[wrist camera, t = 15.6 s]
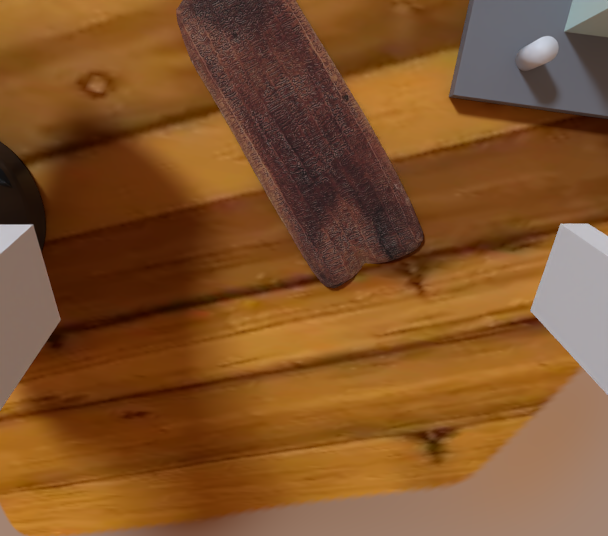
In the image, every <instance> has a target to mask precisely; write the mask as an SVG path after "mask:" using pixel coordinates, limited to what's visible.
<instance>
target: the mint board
mask: <svg viewBox="0 0 608 536" xmlns="http://www.w3.org/2000/svg"><path fill="white" fill-rule="evenodd" d="M564 32H570V33H578V34H586V35H593V36H601V37H608V0H573V1H572V4H571V8H570V12H569V15H568V19H567V23H566V26H565V30H564Z"/></svg>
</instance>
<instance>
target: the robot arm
mask: <svg viewBox="0 0 608 536" xmlns="http://www.w3.org/2000/svg"><path fill="white" fill-rule="evenodd" d="M45 230H46V223H45V213H44V207H43V203H42V199H41V196H40V194H39V191H38V189H37V186H36V184H35V182H34V180H33V178H32V177H31V175H30V173H29V172H28V170H27V169H26V167H25V166H24V165H23V163H22V162H21V161H20V160H19V158H18V157H17V156H16V155H15V154H14V153H13V152H12V151H11V150H10V149H9V148H8V147H6V146H5V145H4V144H3V143H1V142H0V410H1V409H2V407H3V406H4V404H5V403H6V401H7V400H8V398H9V397H10V395H11V394H12V392H13V391H14V389H15V388H16V386H17V385H18V383H19V382H20V380H21V379H22V377H23V376H24V374H25V373H26V371H27V370H28V368H29V367H30V365H31V364H32V362H33V361H34V359H35V358H36V356H37V355H38V353H39V352H40V350H41V349H42V347H43V346H44V344H45V343H46V341H47V340H48V338H49V337H50V335H51V334H52V332H53V331H54V329H55V328H56V326H57V325H58V323H59V322H60V320H61V319H60V315H59V312H58V308H57V305H56V302H55V298H54V295H53V291H52V288H51V284H50V281H49V277H48V274H47V270H46V267H45V264H44V260H43V257H42V253H41V251H42V248H43V244H44V239H45ZM530 311H531V312H532V313H533V314H534V315H535V316H536V317H537V318H538V320H539V321H540V322H541V323H542V324H543V325H544V326H545V327H546V328H547V329H548V330H549V332H550V333H551V334H552V335H553V336H554V337H555V338H556V339H557V340H558V341H559V342H560V344H561V345H562V346H563V347H564V348H565V349H566V350H567V351H568V352H569V353H570V354H571V356H572V357H573V358H574V359H575V360H576V361H577V362H578V363H579V364H580V365H581V366H582V368H583V369H584V370H585V371H586V372H587V373H588V374H589V375H590V376H591V377H592V378H593V380H594V381H595V382H596V383H597V384H598V385H599V386H600V387H601V388H602V389H603V390H604V391H605V393H606V394H607V395H608V236H607V235H605V234H604V233H602V232H600V231H599V230H597V229H596V228H594V227H592V226H591V225H589V224H560V227H559V229H558V232H557V235H556V238H555V241H554V244H553V247H552V250H551V253H550V255H549V258H548V261H547V264H546V267H545V270H544V273H543V276H542V279H541V281H540V284H539V287H538V290H537V293H536V296H535V299H534V302H533V304H532V307H531V310H530Z"/></svg>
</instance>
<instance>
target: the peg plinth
mask: <svg viewBox="0 0 608 536" xmlns="http://www.w3.org/2000/svg"><path fill="white" fill-rule="evenodd" d="M572 1H573V0H470V2H469V6H468V11H467V16H466V20H465V25H464V29H463V34H462V39H461V43H460V48H459V53H458V57H457V62H456V66H455V71H454V76H453V80H452V85H451V90H450V94H449V97H452V98H459V99H466V100H474V101H481V102H488V103H495V104H503V105H510V106H517V107H524V108H532V109H539V110H546V111H553V112H561V113H568V114H575V115H582V116H590V117H597V118H604V119H608V37H601V36H593V35H586V34H578V33H570V32H564V30H565V26H566V23H567V19H568V15H569V12H570V8H571V4H572Z"/></svg>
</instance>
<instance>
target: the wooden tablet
mask: <svg viewBox="0 0 608 536" xmlns="http://www.w3.org/2000/svg"><path fill="white" fill-rule="evenodd" d="M177 21H178V25H179V27H180V30H181V33H182V37H183V39H184V43H185V45H186V48H187V51H188V54H189V56H190V59H191V61H192V63H193V65H194V66H195V68H196V70H197V72H198V74H199V76H200V77H201V79H202V80H203V82H204V84H205V85H206V87H207V89H208V90H209V92H210V93H211V95H212V97H213V99H214V101H215V102H216V104H217V106H218V108H219V109H220V111H221V113H222V115H223V116H224V118H225V120H226V122H227V123H228V125H229V127H230V128H231V130H232V132H233V134H234V135H235V137H236V139H237V141H238V143H239V144H240V146H241V148H242V150H243V152H244V154H245V156H246V158H247V159H248V161H249V163H250V165H251V167H252V168H253V170H254V172H255V174H256V176H257V177H258V179H259V181H260V183H261V184H262V186H263V188H264V190H265V192H266V194H267V196H268V197H269V199H270V201H271V202H272V204H273V206H274V207H275V209H276V211H277V213H278V215H279V216H280V218H281V220H282V221H283V223H284V224H285V226H286V228H287V229H288V231H289V233H290V235H291V236H292V238H293V240H294V242H295V243H296V245H297V247H298V248H299V250H300V251H301V253H302V255H303V257H304V259H305V260H306V261H307V263H308V265H309V266H310V268H311V270H312V271H313V272H314V274H315V275H316V276H317V278H318V279H319V280H320V281H321V282H322V283H323V284H324V285H325V286H326V287H331V288H336V287H338V286H340V285H342V284H343V283H345V282H346V281H348V280H349V279H351V278H352V277H353V276H354V275H355V274H357V273H358V272H359V270H360V269H361V267H362V265H363V264H364V263H373V264H374V263H383V262H388V261H391V260H395V259H398V258H400V257H403V256H405V255H407V254H409V253H411V252H413V251H414V250H416V249H417V248H418V247H419V246H420V245H421V242H422V240H423V231H422V229H421V226H420V224H419V222H418V219H417V217H416V214H415V212H414V209H413V207H412V204H411V202H410V200H409V198H408V196H407V194H406V192H405V190H404V188H403V186H402V184H401V182H400V180H399V178H398V175H397V173H396V172H395V170H394V168H393V166H392V164H391V162H390V160H389V158H388V156H387V155H386V152H385V151H384V149H383V147H382V146H381V144H380V142H379V140H378V138H377V136H376V135H375V133H374V131H373V129H372V128H371V126H370V124H369V122H368V120H367V118H366V117H365V115H364V113H363V112H362V110H361V108H360V107H359V105H358V103H357V102H356V100H355V99H354V97H353V95H352V93H351V92H350V90H349V89H348V87H347V85H346V84H345V82H344V80H343V78H342V76H341V75H340V73H339V71H338V70H337V68H336V66H335V65H334V63H333V61H332V60H331V58H330V57H329V55H328V53H327V52H326V50H325V48H324V47H323V45H322V43H321V42H320V40H319V39H318V37H317V35H316V34H315V32H314V30H313V29H312V27H311V25H310V23H309V22H308V20H307V19H306V17H305V16H304V14H303V12H302V10H301V9H300V7H299V6H298V4H297V2H296V0H183V1H182V2H181V4H180V5H179V7H178V8H177Z"/></svg>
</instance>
